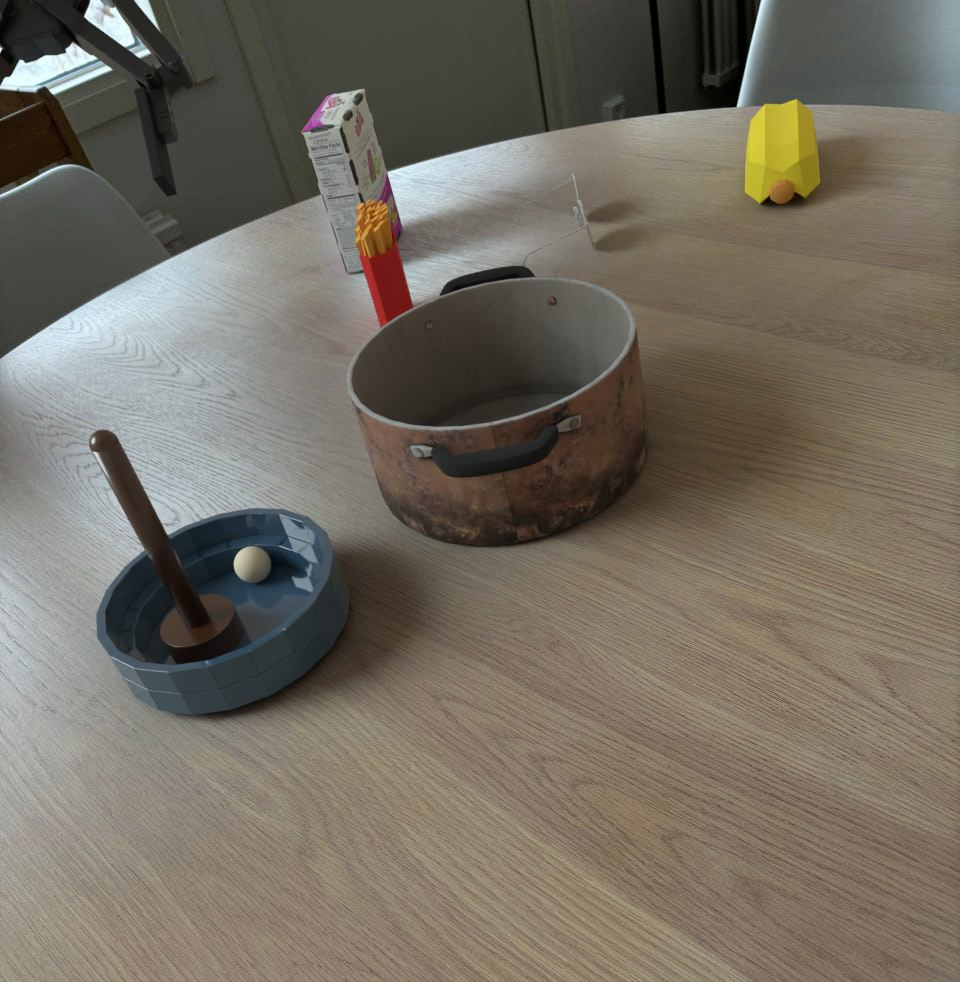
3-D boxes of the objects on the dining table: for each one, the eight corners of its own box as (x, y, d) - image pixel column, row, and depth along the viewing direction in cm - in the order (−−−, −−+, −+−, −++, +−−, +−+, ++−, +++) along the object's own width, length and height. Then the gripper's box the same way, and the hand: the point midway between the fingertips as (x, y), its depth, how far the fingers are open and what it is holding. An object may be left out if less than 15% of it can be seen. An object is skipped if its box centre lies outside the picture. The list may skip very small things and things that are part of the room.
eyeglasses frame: (598, 258, 111) (584, 213, 108) (524, 286, 113) (508, 243, 110) (584, 208, 122) (571, 167, 118) (516, 235, 123) (502, 195, 120)
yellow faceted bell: (744, 217, 111) (820, 208, 109) (742, 153, 107) (821, 142, 105) (747, 153, 124) (815, 144, 122) (745, 93, 119) (816, 82, 117)
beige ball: (226, 582, 79) (259, 595, 81) (244, 559, 78) (277, 573, 79) (228, 556, 81) (260, 570, 82) (245, 533, 80) (278, 547, 81)
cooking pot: (676, 553, 74) (663, 424, 67) (372, 604, 77) (328, 485, 70) (626, 350, 96) (613, 236, 89) (392, 395, 99) (360, 289, 92)
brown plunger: (169, 675, 75) (49, 467, 63) (171, 625, 79) (59, 422, 67) (245, 653, 75) (139, 441, 63) (243, 605, 79) (143, 397, 67)
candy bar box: (365, 235, 130) (325, 94, 119) (404, 229, 128) (367, 86, 117) (343, 276, 122) (298, 129, 111) (384, 271, 120) (342, 121, 109)
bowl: (132, 756, 71) (99, 706, 67) (121, 605, 84) (93, 557, 80) (375, 666, 72) (355, 613, 69) (328, 531, 85) (308, 481, 82)
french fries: (378, 309, 113) (346, 199, 105) (413, 300, 113) (384, 189, 105) (382, 345, 107) (349, 230, 99) (420, 335, 107) (389, 220, 99)
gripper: (198, -80, 78) (257, 191, 77) (-119, 4, 79) (-65, 272, 78) (161, -160, 71) (227, 139, 70) (-188, -66, 72) (-128, 229, 71)
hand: (73, 210), depth 74 cm, fingers open, 13 cm apart
